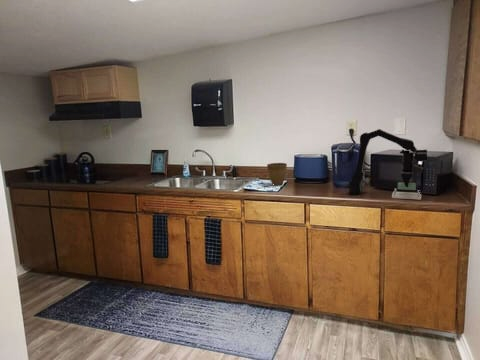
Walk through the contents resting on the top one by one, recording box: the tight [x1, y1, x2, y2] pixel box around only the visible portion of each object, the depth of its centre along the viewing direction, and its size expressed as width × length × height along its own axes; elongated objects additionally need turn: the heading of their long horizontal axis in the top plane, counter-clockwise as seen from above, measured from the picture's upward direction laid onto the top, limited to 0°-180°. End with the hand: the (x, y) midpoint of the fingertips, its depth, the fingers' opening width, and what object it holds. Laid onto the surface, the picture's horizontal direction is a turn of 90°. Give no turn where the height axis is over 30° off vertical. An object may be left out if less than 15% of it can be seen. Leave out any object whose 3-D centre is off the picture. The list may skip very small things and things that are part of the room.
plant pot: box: [266, 162, 288, 186], centre depth 269 cm, size 15×15×16 cm
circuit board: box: [397, 181, 417, 191], centre depth 217 cm, size 10×6×3 cm, turn 64°
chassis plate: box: [391, 187, 422, 201], centre depth 218 cm, size 16×12×4 cm
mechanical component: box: [359, 176, 371, 193], centre depth 235 cm, size 3×10×10 cm, turn 36°
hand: (406, 185), depth 217 cm, fingers closed on circuit board, 6 cm apart
